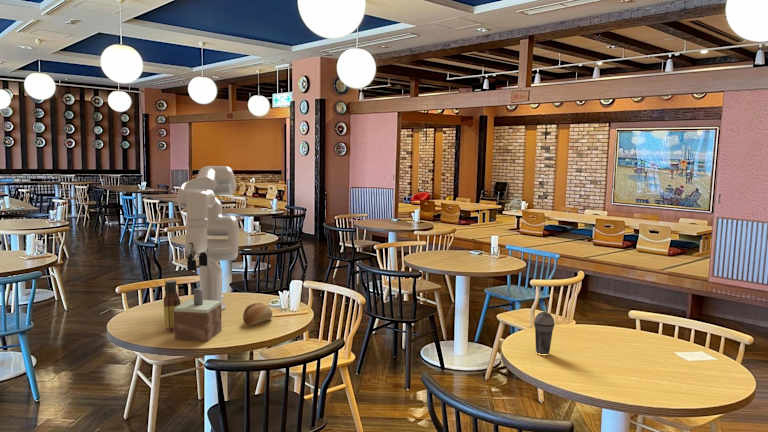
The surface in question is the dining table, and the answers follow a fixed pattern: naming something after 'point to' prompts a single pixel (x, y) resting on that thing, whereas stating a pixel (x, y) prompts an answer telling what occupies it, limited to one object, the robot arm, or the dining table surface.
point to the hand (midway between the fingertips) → (197, 268)
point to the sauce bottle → (170, 304)
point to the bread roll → (256, 314)
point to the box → (197, 325)
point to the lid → (197, 304)
